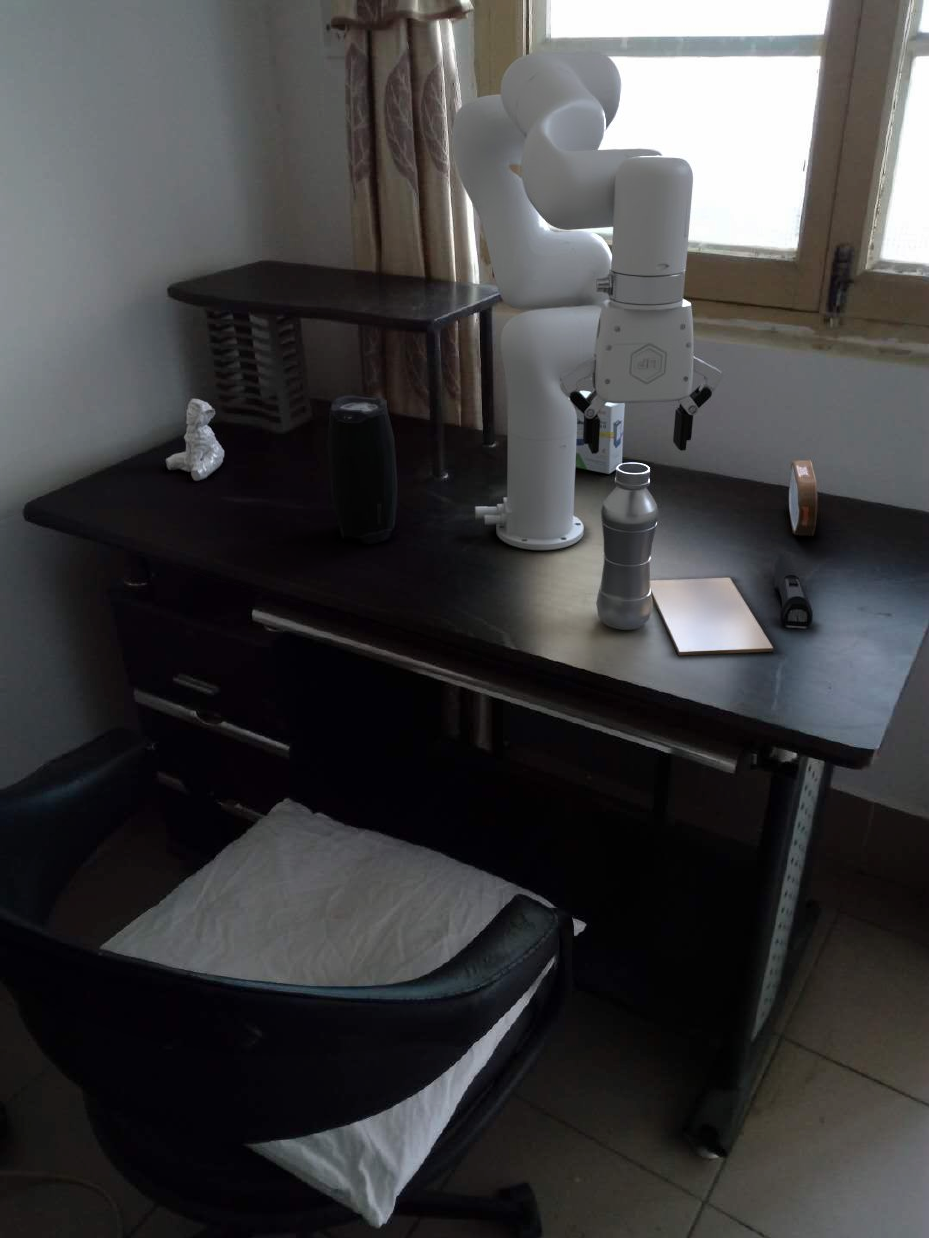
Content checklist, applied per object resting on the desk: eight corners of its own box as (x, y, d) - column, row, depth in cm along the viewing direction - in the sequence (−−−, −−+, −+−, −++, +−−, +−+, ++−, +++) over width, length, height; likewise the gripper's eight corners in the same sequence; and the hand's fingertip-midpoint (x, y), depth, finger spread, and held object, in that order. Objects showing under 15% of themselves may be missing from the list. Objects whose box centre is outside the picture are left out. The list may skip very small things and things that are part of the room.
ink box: (622, 466, 169) (627, 397, 163) (608, 475, 165) (612, 405, 160) (577, 456, 173) (580, 389, 168) (562, 465, 170) (565, 397, 164)
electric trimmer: (797, 573, 134) (801, 551, 133) (812, 629, 121) (816, 605, 120) (768, 571, 135) (771, 549, 134) (780, 627, 122) (783, 603, 120)
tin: (814, 546, 141) (823, 489, 137) (790, 544, 142) (799, 488, 138) (804, 504, 154) (813, 451, 150) (783, 503, 154) (791, 450, 150)
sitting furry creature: (163, 469, 171) (151, 400, 165) (205, 455, 177) (195, 388, 171) (197, 482, 166) (186, 411, 160) (239, 467, 171) (230, 398, 165)
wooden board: (678, 655, 116) (679, 651, 116) (646, 583, 132) (646, 580, 132) (773, 651, 117) (773, 648, 117) (729, 580, 132) (729, 577, 132)
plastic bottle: (645, 640, 119) (659, 481, 110) (589, 631, 121) (597, 475, 112) (655, 614, 125) (668, 461, 115) (601, 606, 127) (609, 455, 117)
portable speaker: (333, 524, 150) (322, 395, 141) (395, 519, 151) (389, 391, 142) (337, 548, 143) (325, 414, 133) (402, 542, 144) (396, 409, 135)
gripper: (568, 298, 100) (563, 462, 108) (740, 293, 101) (722, 457, 109) (558, 284, 107) (554, 440, 115) (720, 279, 107) (704, 434, 115)
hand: (636, 448), depth 112 cm, fingers open, 9 cm apart
